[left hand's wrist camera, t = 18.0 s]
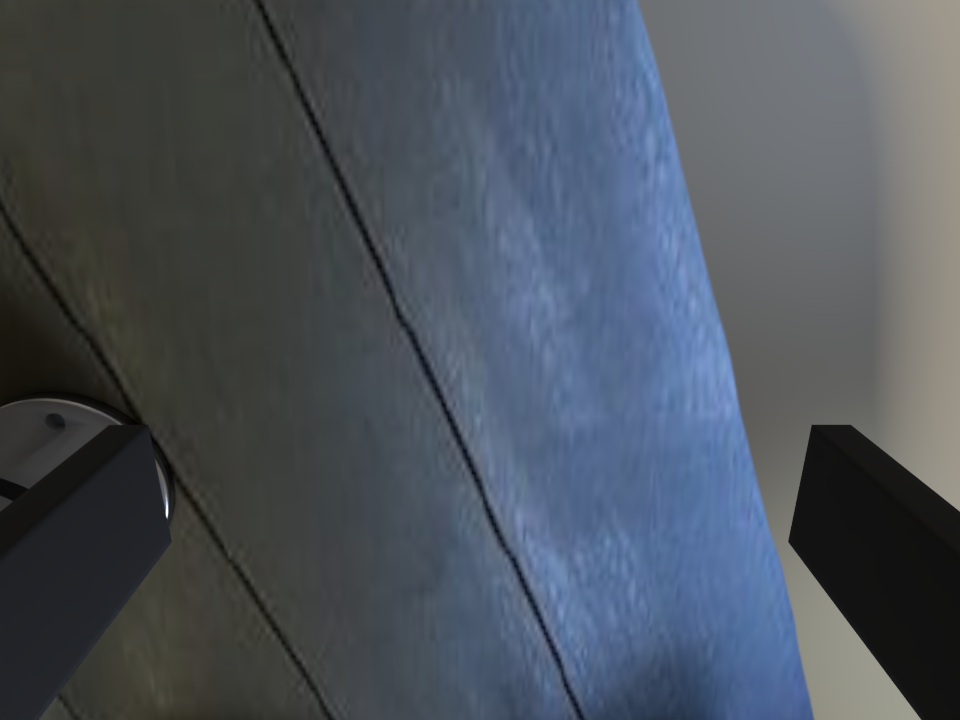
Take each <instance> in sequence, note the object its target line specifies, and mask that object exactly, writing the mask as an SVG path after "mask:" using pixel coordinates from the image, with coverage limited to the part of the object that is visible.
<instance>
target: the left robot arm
mask: <svg viewBox="0 0 960 720" xmlns="http://www.w3.org/2000/svg"><path fill="white" fill-rule="evenodd" d="M174 506H175V489H174V483H173V478H172V475H171V472H170V469H169V467H168V464H167V462H166V460H165V458H164V456H163V455H162V453H161V451H160V450H159V448H158V447H157V446H156V444H155V443H154V442H153V441H152V439H151V437H150V432H149V427H148V425H137V424H136V423H134V422H133V421H132V420H130V419H129V418H128V417H126V416H125V415H123V414H122V413H120V412H118V411H117V410H115V409H113V408H111V407H109V406H107V405H105V404H103V403H100V402H98V401H95V400H92V399H89V398H86V397H82V396H78V395H73V394H67V393H37V394H32V395H27V396H23V397H20V398H17V399H15V400H12V401H10V402H8V403H6V404H5V405H3V406H1V407H0V720H39V718H40V717H41V716H42V714H43V713H44V712H45V710H46V709H47V708H48V706H49V705H50V704H51V702H52V701H53V700H54V698H55V697H56V696H57V694H58V693H59V692H60V690H61V689H62V688H63V686H64V685H65V684H66V682H67V681H68V680H69V678H70V677H71V676H72V674H73V673H74V672H75V670H76V669H77V668H78V666H79V665H80V664H81V662H82V661H83V660H84V658H85V657H86V656H87V654H88V653H89V652H90V650H91V649H92V648H93V646H94V645H95V644H96V642H97V641H98V640H99V638H100V637H101V636H102V634H103V633H104V632H105V630H106V629H107V628H108V626H109V625H110V624H111V622H112V621H113V620H114V618H115V617H116V616H117V614H118V613H119V612H120V610H121V609H122V608H123V606H124V605H125V604H126V602H127V601H128V600H129V598H130V597H131V596H132V594H133V593H134V592H135V590H136V589H137V588H138V586H139V585H140V584H141V582H142V581H143V580H144V578H145V577H146V576H147V574H148V573H149V572H150V570H151V569H152V568H153V566H154V565H155V564H156V562H157V561H158V560H159V558H160V557H161V556H162V554H163V553H164V552H165V550H166V549H167V547H168V546H169V545H170V543H171V542H172V541H171V536H170V531H169V524H170V522H171V519H172V516H173V512H174ZM788 542H789V543H790V545H791V546H792V547H793V549H794V550H795V552H796V553H797V554H798V556H799V557H800V558H801V559H802V561H803V562H804V564H805V565H806V566H807V568H808V569H809V570H810V571H811V573H812V574H813V576H814V577H815V578H816V579H817V581H818V582H819V584H820V585H821V586H822V588H823V589H824V590H825V592H826V593H827V594H828V596H829V597H830V598H831V600H832V601H833V602H834V604H835V605H836V606H837V608H838V609H839V610H840V612H841V613H842V614H843V616H844V617H845V618H846V620H847V621H848V622H849V624H850V625H851V626H852V628H853V629H854V630H855V632H856V633H857V634H858V636H859V637H860V638H861V640H862V641H863V642H864V644H865V645H866V646H867V648H868V649H869V650H870V652H871V653H872V654H873V656H874V657H875V658H876V660H877V661H878V662H879V664H880V665H881V666H882V668H883V669H884V670H885V672H886V673H887V674H888V676H889V677H890V678H891V680H892V681H893V682H894V684H895V685H896V686H897V688H898V689H899V690H900V692H901V693H902V694H903V696H904V697H905V698H906V700H907V701H908V702H909V704H910V705H911V706H912V708H913V709H914V710H915V712H916V713H917V714H918V716H919V717H920V718H921V720H960V512H959V511H958V510H957V509H956V508H954V507H953V506H952V505H951V504H949V503H948V502H947V501H946V500H944V499H943V498H942V497H941V496H939V495H938V494H937V493H936V492H934V491H933V490H932V489H931V488H929V487H928V486H927V485H926V484H924V483H923V482H922V481H921V480H919V479H918V478H917V477H916V476H914V475H913V474H912V473H910V472H909V471H908V470H907V469H905V468H904V467H903V466H902V465H900V464H899V463H898V462H897V461H895V460H894V459H893V458H892V457H890V456H889V455H888V454H887V453H885V452H884V451H883V450H882V449H880V448H879V447H878V446H876V445H875V444H874V443H873V442H872V441H870V440H869V439H868V438H866V437H865V436H864V435H863V434H861V433H860V432H859V431H858V430H856V429H855V428H854V427H853V426H851V425H812V427H811V432H810V437H809V442H808V447H807V452H806V457H805V462H804V466H803V471H802V476H801V481H800V486H799V491H798V496H797V501H796V506H795V511H794V516H793V521H792V526H791V531H790V536H789V541H788Z"/></svg>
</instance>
